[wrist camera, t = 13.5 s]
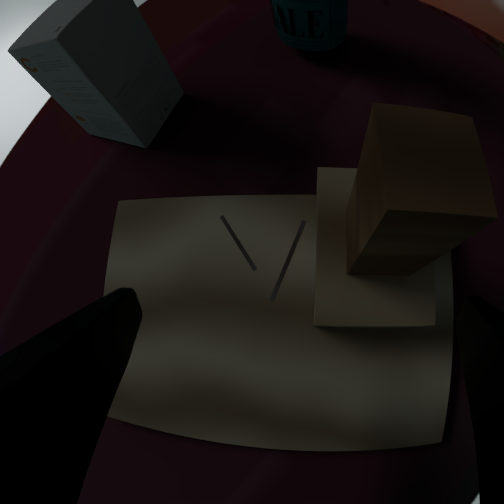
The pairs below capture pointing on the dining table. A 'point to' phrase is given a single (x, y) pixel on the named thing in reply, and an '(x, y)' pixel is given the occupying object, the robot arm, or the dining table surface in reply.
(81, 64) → the small box
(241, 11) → the dining table surface
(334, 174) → the block
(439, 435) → the board
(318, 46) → the beverage bottle
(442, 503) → the dining table surface
